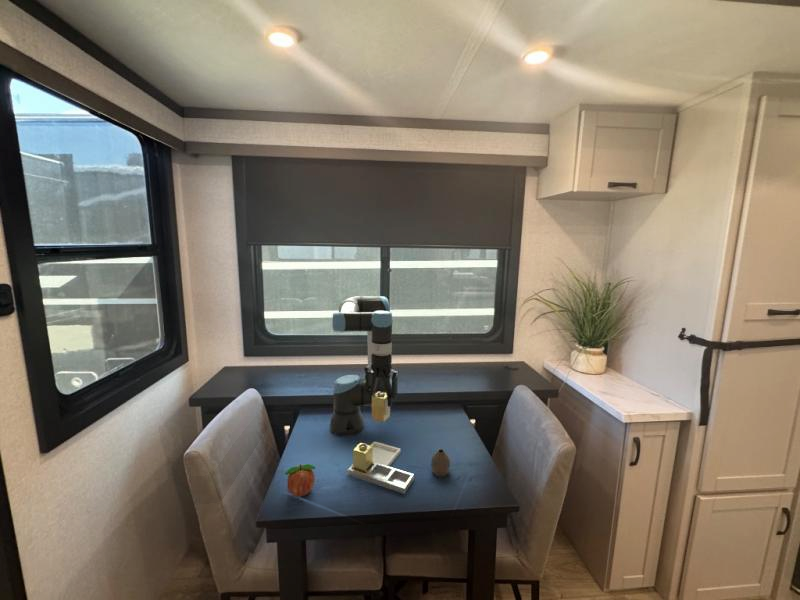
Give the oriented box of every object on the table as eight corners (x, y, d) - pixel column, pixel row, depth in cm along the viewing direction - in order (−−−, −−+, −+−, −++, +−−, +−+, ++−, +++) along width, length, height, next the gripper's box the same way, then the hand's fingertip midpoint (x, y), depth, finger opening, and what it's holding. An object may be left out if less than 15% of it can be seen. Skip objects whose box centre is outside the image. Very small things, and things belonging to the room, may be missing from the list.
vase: (444, 482, 119) (445, 459, 118) (427, 475, 123) (428, 452, 121) (452, 471, 125) (453, 449, 124) (435, 465, 128) (436, 443, 127)
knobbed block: (378, 413, 134) (378, 390, 132) (389, 416, 132) (390, 392, 130) (371, 418, 129) (372, 394, 128) (383, 421, 127) (383, 397, 126)
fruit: (315, 500, 109) (314, 471, 108) (284, 504, 107) (283, 474, 106) (316, 482, 118) (315, 455, 116) (287, 485, 116) (286, 458, 114)
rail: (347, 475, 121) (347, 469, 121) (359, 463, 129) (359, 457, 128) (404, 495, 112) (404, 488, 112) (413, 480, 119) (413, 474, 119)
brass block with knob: (353, 473, 122) (353, 448, 121) (360, 465, 127) (360, 441, 125) (365, 477, 120) (365, 451, 119) (372, 469, 125) (372, 444, 123)
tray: (358, 461, 130) (358, 456, 130) (374, 445, 141) (374, 441, 140) (387, 470, 125) (387, 465, 125) (400, 453, 136) (400, 448, 135)
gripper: (355, 352, 127) (355, 411, 131) (399, 359, 120) (398, 421, 123) (365, 347, 134) (365, 403, 137) (408, 353, 126) (406, 413, 130)
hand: (380, 412), depth 130 cm, fingers closed on knobbed block, 5 cm apart
